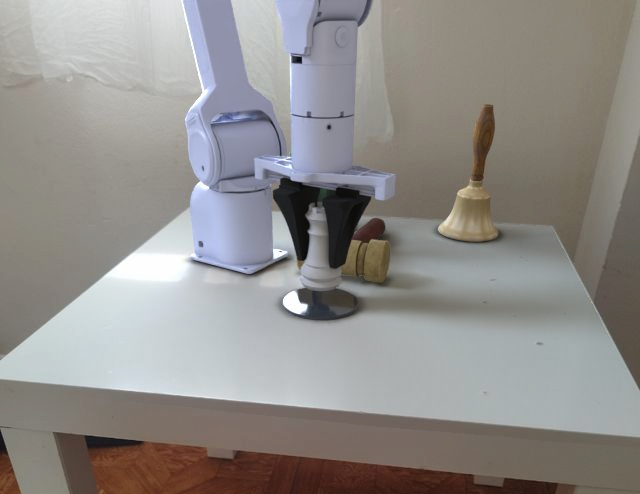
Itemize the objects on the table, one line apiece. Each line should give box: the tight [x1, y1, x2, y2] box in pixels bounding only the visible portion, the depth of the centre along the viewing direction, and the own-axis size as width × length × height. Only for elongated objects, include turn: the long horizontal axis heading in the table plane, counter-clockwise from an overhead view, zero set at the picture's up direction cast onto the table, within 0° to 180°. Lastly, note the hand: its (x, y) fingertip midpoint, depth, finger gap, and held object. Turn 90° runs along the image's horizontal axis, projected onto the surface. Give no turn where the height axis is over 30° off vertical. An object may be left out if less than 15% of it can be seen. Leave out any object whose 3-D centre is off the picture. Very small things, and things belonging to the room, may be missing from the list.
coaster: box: [282, 287, 359, 321], centre depth 65 cm, size 8×8×1 cm
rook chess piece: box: [299, 202, 343, 291], centre depth 62 cm, size 4×4×8 cm
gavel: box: [296, 217, 391, 284], centre depth 77 cm, size 21×5×10 cm
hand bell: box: [437, 103, 499, 243], centre depth 81 cm, size 8×8×16 cm
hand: (320, 261), depth 63 cm, fingers closed on rook chess piece, 3 cm apart
